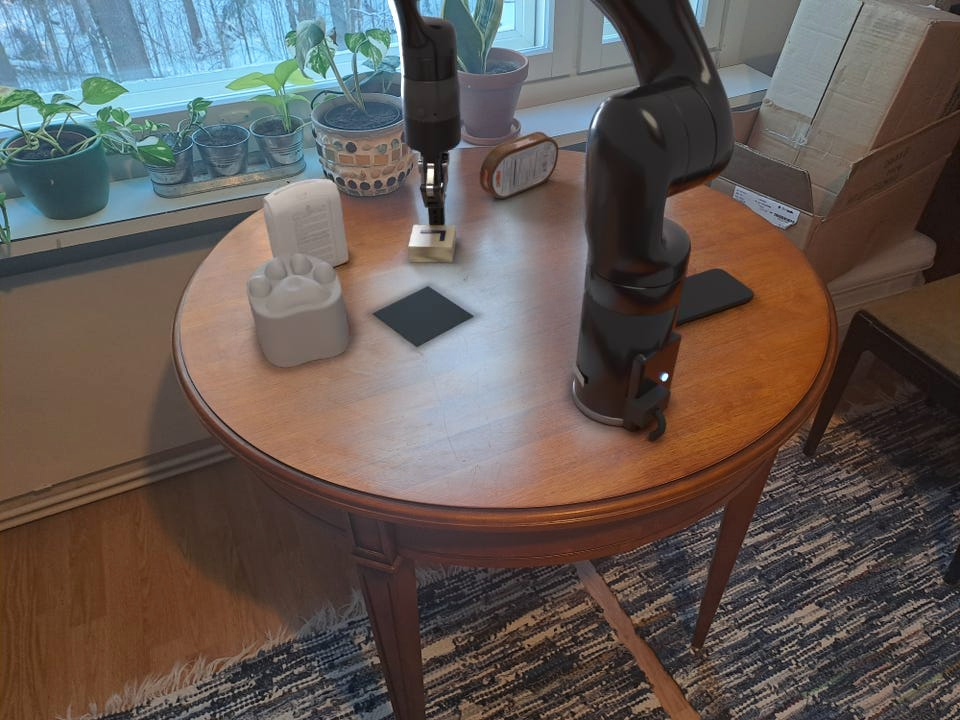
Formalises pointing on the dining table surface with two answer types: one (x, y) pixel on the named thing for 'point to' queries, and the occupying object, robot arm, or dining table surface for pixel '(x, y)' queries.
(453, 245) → the tile
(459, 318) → the mat
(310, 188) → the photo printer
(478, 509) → the dining table surface
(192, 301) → the dining table surface
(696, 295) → the phone
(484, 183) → the tin
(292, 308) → the lumpy-topped squat cylinder
